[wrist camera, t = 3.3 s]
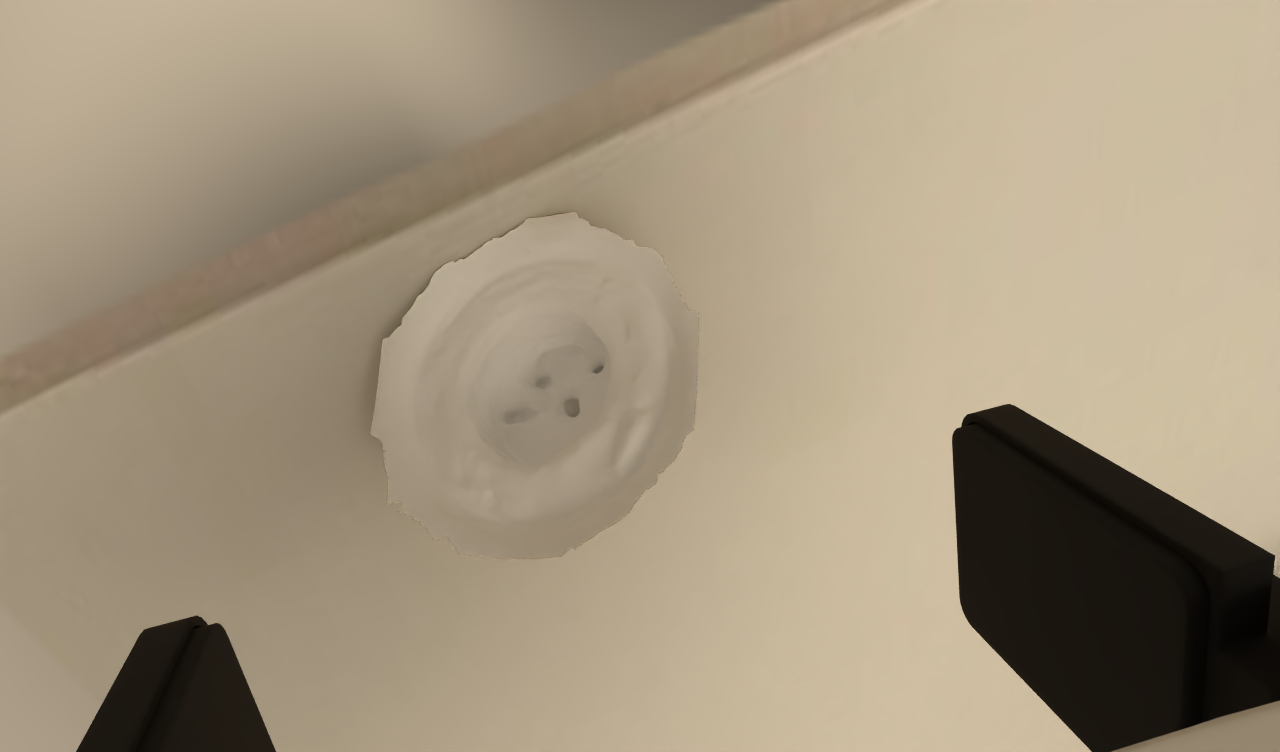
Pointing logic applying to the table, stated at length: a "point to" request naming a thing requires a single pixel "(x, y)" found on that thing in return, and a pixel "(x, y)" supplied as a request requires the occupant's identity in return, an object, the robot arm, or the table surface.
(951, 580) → the table surface
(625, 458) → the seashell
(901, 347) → the table surface
